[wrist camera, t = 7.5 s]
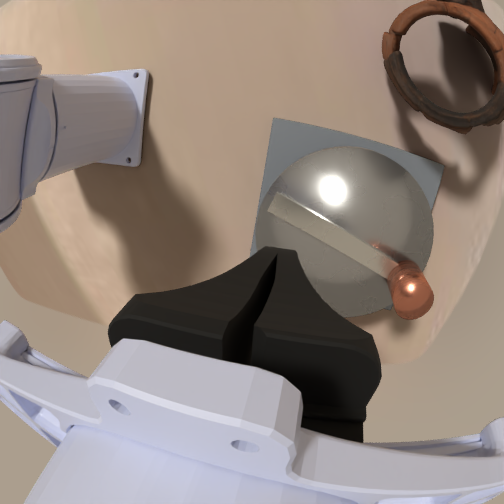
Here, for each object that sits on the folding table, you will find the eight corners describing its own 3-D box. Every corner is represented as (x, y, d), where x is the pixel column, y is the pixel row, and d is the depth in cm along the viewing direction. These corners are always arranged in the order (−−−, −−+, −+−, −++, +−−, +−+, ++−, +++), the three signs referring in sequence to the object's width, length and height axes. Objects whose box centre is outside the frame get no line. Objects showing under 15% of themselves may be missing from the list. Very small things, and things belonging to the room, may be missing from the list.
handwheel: (438, 254, 18) (468, 297, 13) (312, 314, 23) (307, 366, 18) (374, 113, 15) (398, 111, 10) (233, 196, 20) (203, 225, 15)
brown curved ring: (501, 132, 14) (518, 165, 10) (396, 102, 19) (368, 120, 15) (502, -7, 7) (518, -37, 2) (387, -28, 12) (351, -62, 7)
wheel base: (249, 270, 24) (245, 278, 22) (275, 117, 18) (272, 117, 17) (388, 303, 22) (391, 312, 21) (439, 163, 17) (446, 166, 15)
